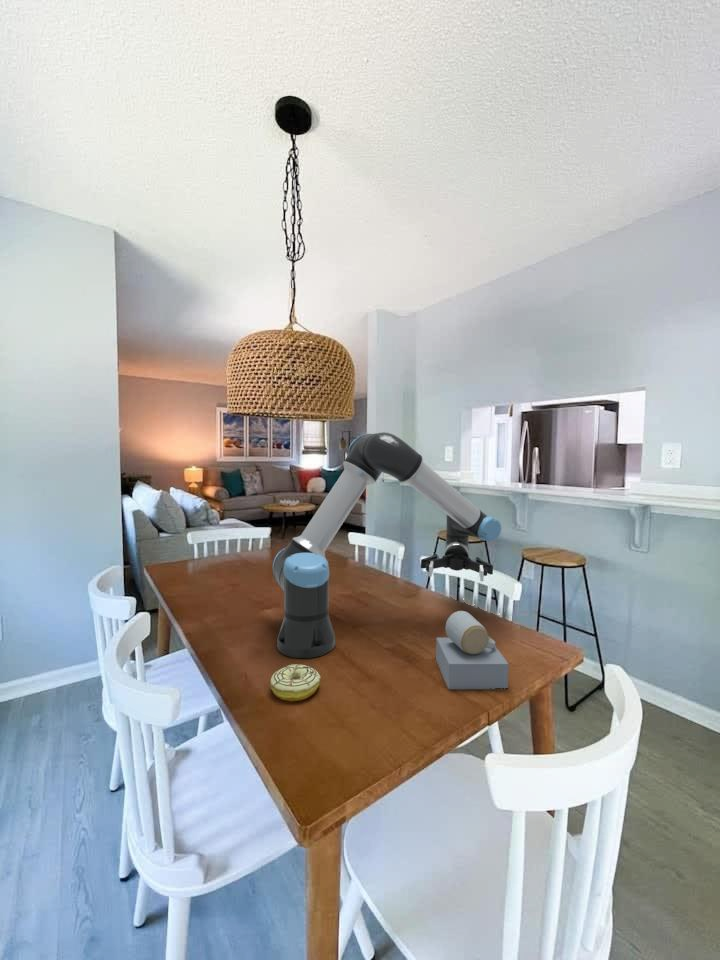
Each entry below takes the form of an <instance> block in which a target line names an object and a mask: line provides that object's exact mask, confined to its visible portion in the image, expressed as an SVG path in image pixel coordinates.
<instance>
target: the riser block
mask: <svg viewBox="0 0 720 960" xmlns="http://www.w3.org/2000/svg"><path fill="white" fill-rule="evenodd" d="M435 638H436V641H435V642H436V644H435V645H436V647H435V652H436V653H435V660H436V663H437V666H438V669H439V670H440V673H441V675H442V677H443V680H444V682H445V685H446V687H447V689H448V690H496V689H495V688H501V689H500V690H506V689H505V688H508V689H509V670H510V669H509V668H510V667H509V663H508V661H507V660H506V658H505V657H504V656H503V654H502V653H501V652H500V651H499V649H498V648H497V647H496V645H495V646H494V648H493V649H490V648H485V649H484V650H483V651H482V652H481V653H478V654H475V655H471V654H468V653H466V652H464V651H463V650H461V649H460V648H459V647H458V646H457V645H456V644H455V643H454V642H453V641H452V640H451V639H449V637H435ZM490 688H491V689H490ZM502 688H504V689H502Z"/></svg>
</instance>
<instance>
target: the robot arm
mask: <svg viewBox="0 0 720 960" xmlns="http://www.w3.org/2000/svg"><path fill="white" fill-rule="evenodd" d="M342 464H343V469H344V470H343V471H342V473H341V474H340V475H339V477H338V479H337V481H336V482H335V483H334V484H333V486H332V488H331V489H330V490H329V493H328V494H327V495H326V497H325V498H324V500H323V501H322V503H321V504H320V505H319V507H318V509H317V510H316V512H315V513H314V514H313V516H312V518H311V519H310V520H309V522H308V524H307V525H306V527H305V528H304V530H303V531H302V532H301V535H299V536H295V537H292V539H291V540H290V542H289V543H288V545H287V546H286V547H284V548H283V549H281V550H280V551H278V553H277V554H276V555H275V556H274V560H273V563H272V573H273V577H274V579H275V582H276V583H277V584H278V586H280V588H281V589H282V590H283V608H284V609H283V620H282V623H281V626H280V629H279V633H278V635H277V639H276V640H277V641H276V643H277V649H278V651H279V653H280V654H282V655H284V656H287V657H290V658H294V659H313V658H317V657H320V656H321V657H322V656H324V655H327V654H328V653H329V652H331V651H332V650H333V649H334V648H335V646H336V636H335V632H334V631H335V630H334V629H333V628H334V627H333V625H332V622H331V620H330V619H331V618H330V616H329V607H330V606H329V600H330V599H329V593H330V592H329V590H330V587H329V586H330V585H329V583H330V582H329V581H330V579H329V578H330V569H329V562H328V559H327V558H326V550H327V549H328V547H329V545H330V544H331V543H332V541H333V539H334V538H335V536H336V534H338V531H339V530H340V528H342V527H341V526H343V523H344V522H345V521H346V519H347V517H348V516H349V515H350V513H351V511H352V510H353V509H354V507H355V505H356V504H357V502H358V501H359V499H360V498H361V496H362V495H363V492H364V491H365V490H366V488H367V487H368V486H370V485H374V484H375V483H376V482H377V480H378V479H379V478H380V476H381V474H382V473H383V474H386V475H389V476H391V477H393V478H395V479H396V480H397V481H399V482H400V483H407V485H409V486H411V487H412V488H413V489H414V490H416V491H417V492H418V493H419V494H420V495H422V496H423V497H424V498H425V499H426V500H428V501H429V502H430V503H432V504H433V505H434V506H436V507H437V508H438V509H439V510H440V511H442V512H443V513H445V517H446V535H445V551H444V555H443V556H442V557H441V556H440V555H438V553H434V554H433V555H431V556H427V557H424V558H422V559H420V569H423V570H424V569H425V570H426V573H428V577H429V578H430V577H431V578H432V577H433V574H434V569H440V568H445V569H448V568H449V569H450V570H452V571H456V572H457V571H462V570H465V571H467V570H470V571H474V572H476V573H478V575H479V580H480V582H484V579H485V578H484V576H485V577H487V576H488V575H493V573H494V565H493V564H491V563H489V562H487V561H485V560H482V559H481V558H480V557H478V556H477V557H474V559H471V558H470V556H469V538H470V537H471V538H476V539H478V540H481V541H486V542H494V541H496V540H497V539H498V538H499V537H500V535H501V533H502V524H501V522H500V521H499V519H497V518H496V517H494V516H491V515H487V514H485V512H483V511H482V510H480V509H479V508H478V507H477V506H475V505H474V503H472V502H471V501H470V500H469V499H467V497H465V496H464V495H463V494H461V493H460V492H459V491H458V490H457V489H455V488H454V487H453V486H452V485H451V484H449V482H447V481H446V480H445V479H444V478H443V477H442V476H440V475H439V474H438V473H437V472H436V471H434V470H433V469H432V468H431V467H430V466H428V465H427V464H426V463H425V462H424V459H423V455H421V454H420V453H419V452H417V451H416V450H415V449H414V448H413V447H411V446H410V445H409V444H408V443H407V442H405V441H404V440H403V439H402V438H400V437H398V436H397V435H395V434H393V433H389V432H385V431H384V432H377V433H365V434H362V435H359V436H358V437H356V438H355V439H354V440H352V442H351V443H350V445H349V447H348V450H347V456H346V458H345V459H344V461H343V463H342Z"/></svg>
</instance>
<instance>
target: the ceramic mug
mask: <svg viewBox="0 0 720 960" xmlns="http://www.w3.org/2000/svg"><path fill="white" fill-rule="evenodd" d="M444 629H445V634H446V636H447V638H449V639H451V640H452V641H453V642H454V643H455V644H456V645H457V646H458V647H459V648H460V649H461V650H463V651H464V652H466V653H468V654H471V655H475V654H478V653H481V652H482V651H483V650H484V649H485V648H490V649H493V648H494V646H495V647H496V641H495V640H494V639H493V638H491V637H490V636H489V633H488V631H487V629H486V628H485V626H484V625H482V624H481V623H480V621H478V620H477V619H476V618H475V617H474V616H473V615H472V614H471V613H469V612H468V611H464V610H458V611H455V612H453V613H451V614H450V615H449V616H448V618H447V620H446V623H445V628H444Z"/></svg>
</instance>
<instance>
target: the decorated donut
mask: <svg viewBox="0 0 720 960" xmlns="http://www.w3.org/2000/svg"><path fill="white" fill-rule="evenodd" d="M320 683H321V675H320V674H319V672H318V671H317V670H316V669H315V668H313V667H312V666H308V665H305V664H297V663H296V664H294V663H292V664H288V665H286V666H284V667H282V668H280V669H277V670H276V671H275V672H274V673H273V674H272V675H271V678H270V689H271V691H272V693H273V694H274V695H275V696H276V698H279V699H280V700H282V701H287V702H298V701H304V700H306V699H309V698H310V697H311V696H312V695H314V694H315V693H316V692H317V690H318V688H319V686H320Z"/></svg>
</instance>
